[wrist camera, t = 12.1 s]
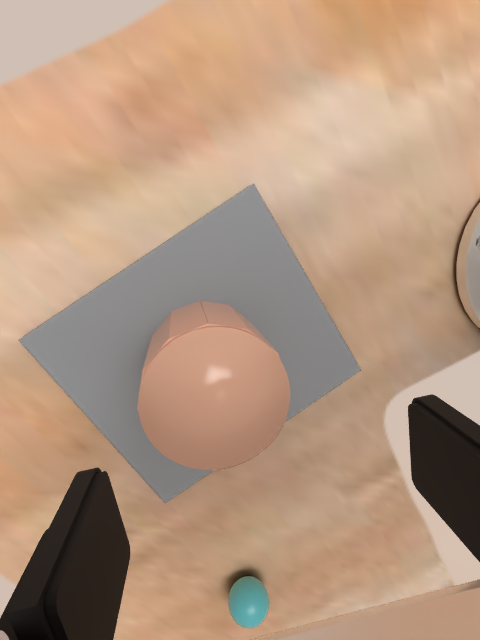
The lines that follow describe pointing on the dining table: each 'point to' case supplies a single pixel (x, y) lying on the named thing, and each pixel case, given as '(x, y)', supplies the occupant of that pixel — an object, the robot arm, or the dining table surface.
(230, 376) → the peach domed cylinder
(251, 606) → the teal ball
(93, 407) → the slate mat
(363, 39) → the dining table surface
